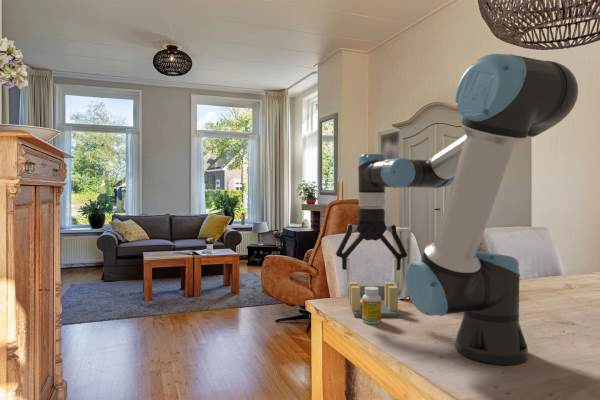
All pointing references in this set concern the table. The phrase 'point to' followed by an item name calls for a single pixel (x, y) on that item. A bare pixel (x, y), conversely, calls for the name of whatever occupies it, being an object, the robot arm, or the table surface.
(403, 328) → the table surface
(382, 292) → the grey holder rack
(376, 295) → the supplement bottle
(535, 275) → the table surface
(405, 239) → the chrome rod
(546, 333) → the table surface
